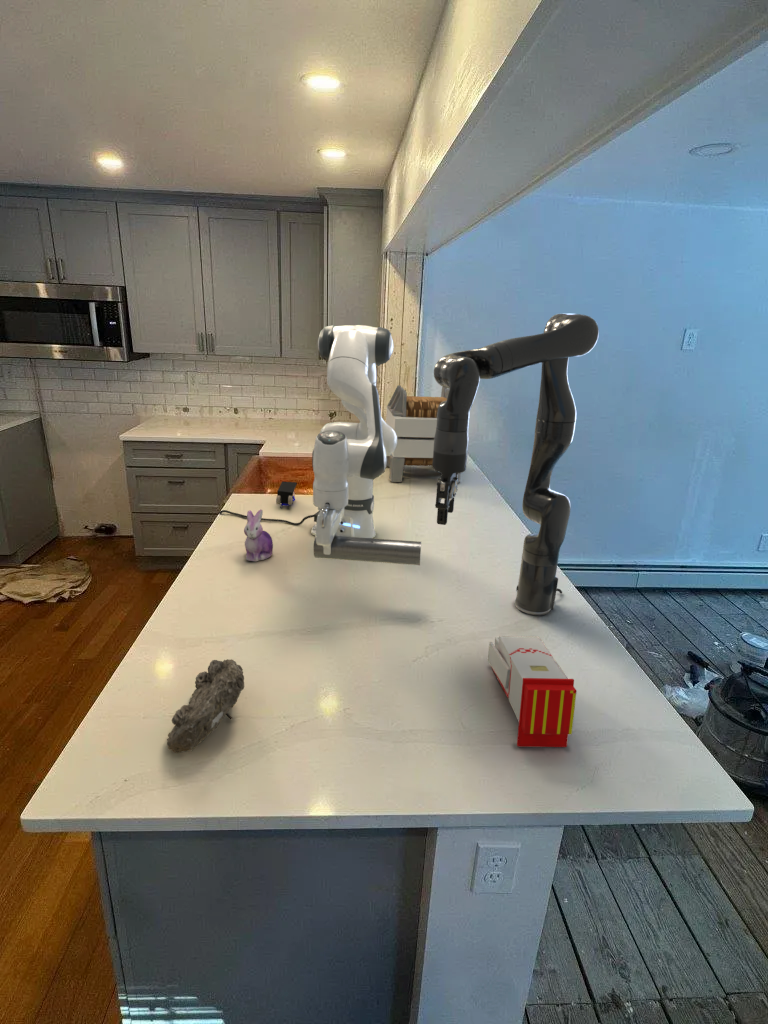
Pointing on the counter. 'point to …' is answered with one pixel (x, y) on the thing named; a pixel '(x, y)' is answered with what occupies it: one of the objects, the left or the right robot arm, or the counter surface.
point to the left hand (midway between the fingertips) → (330, 547)
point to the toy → (534, 690)
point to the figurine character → (286, 494)
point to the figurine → (257, 538)
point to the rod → (372, 550)
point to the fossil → (206, 705)
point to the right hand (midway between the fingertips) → (445, 517)
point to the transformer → (412, 430)
